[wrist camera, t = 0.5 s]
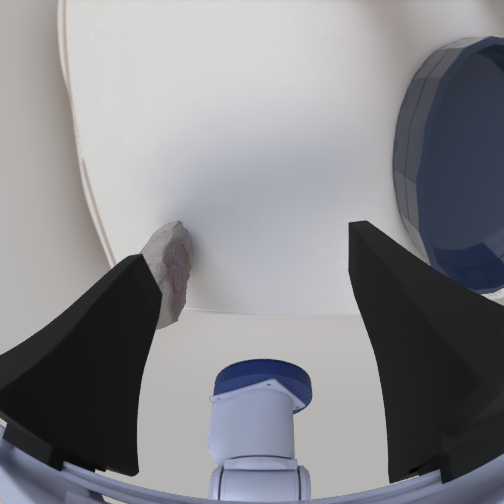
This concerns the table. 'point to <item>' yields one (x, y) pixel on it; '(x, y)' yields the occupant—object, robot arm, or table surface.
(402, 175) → the round tray
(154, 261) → the fossil
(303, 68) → the table surface
